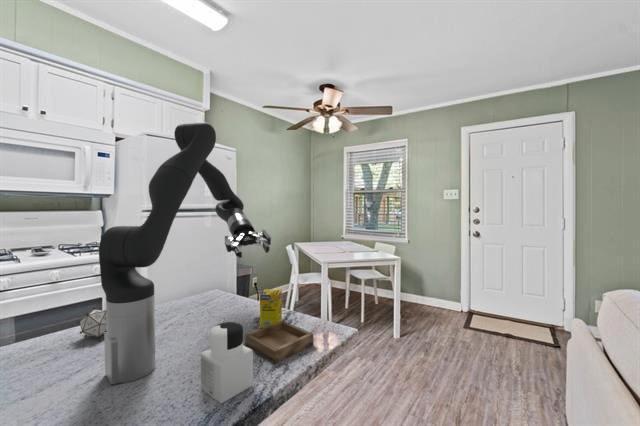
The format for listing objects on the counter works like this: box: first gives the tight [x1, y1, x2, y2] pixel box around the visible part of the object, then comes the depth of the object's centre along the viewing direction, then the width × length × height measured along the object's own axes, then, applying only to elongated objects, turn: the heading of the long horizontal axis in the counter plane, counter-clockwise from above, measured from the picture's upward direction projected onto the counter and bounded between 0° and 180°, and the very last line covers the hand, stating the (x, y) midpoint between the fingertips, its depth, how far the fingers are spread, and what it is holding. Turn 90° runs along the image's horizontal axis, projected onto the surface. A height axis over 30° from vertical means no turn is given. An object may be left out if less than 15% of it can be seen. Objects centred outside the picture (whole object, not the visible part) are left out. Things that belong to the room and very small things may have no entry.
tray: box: [244, 320, 314, 364], centre depth 79 cm, size 13×13×3 cm
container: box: [200, 321, 254, 404], centre depth 61 cm, size 8×8×13 cm
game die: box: [76, 307, 107, 340], centre depth 85 cm, size 9×8×10 cm
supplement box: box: [259, 289, 283, 329], centre depth 92 cm, size 6×6×11 cm
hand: (254, 252), depth 91 cm, fingers open, 8 cm apart
